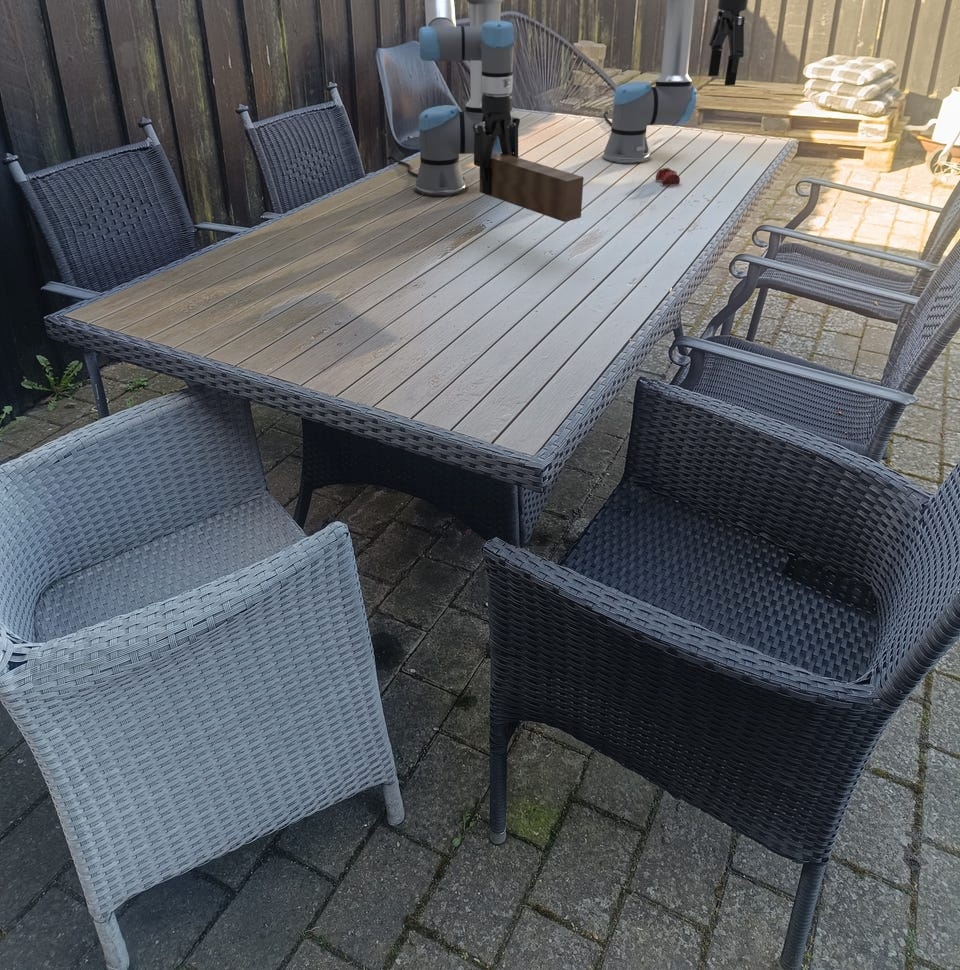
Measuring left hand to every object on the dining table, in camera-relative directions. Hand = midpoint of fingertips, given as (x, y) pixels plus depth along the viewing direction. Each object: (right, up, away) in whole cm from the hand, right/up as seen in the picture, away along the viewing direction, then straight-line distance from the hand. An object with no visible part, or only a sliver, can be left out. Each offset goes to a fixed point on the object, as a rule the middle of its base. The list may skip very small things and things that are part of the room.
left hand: (495, 191), depth 218 cm
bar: (+8, -6, -7) cm, 12 cm away
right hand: (+63, +37, +18) cm, 76 cm away
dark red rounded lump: (+55, +19, +47) cm, 75 cm away
